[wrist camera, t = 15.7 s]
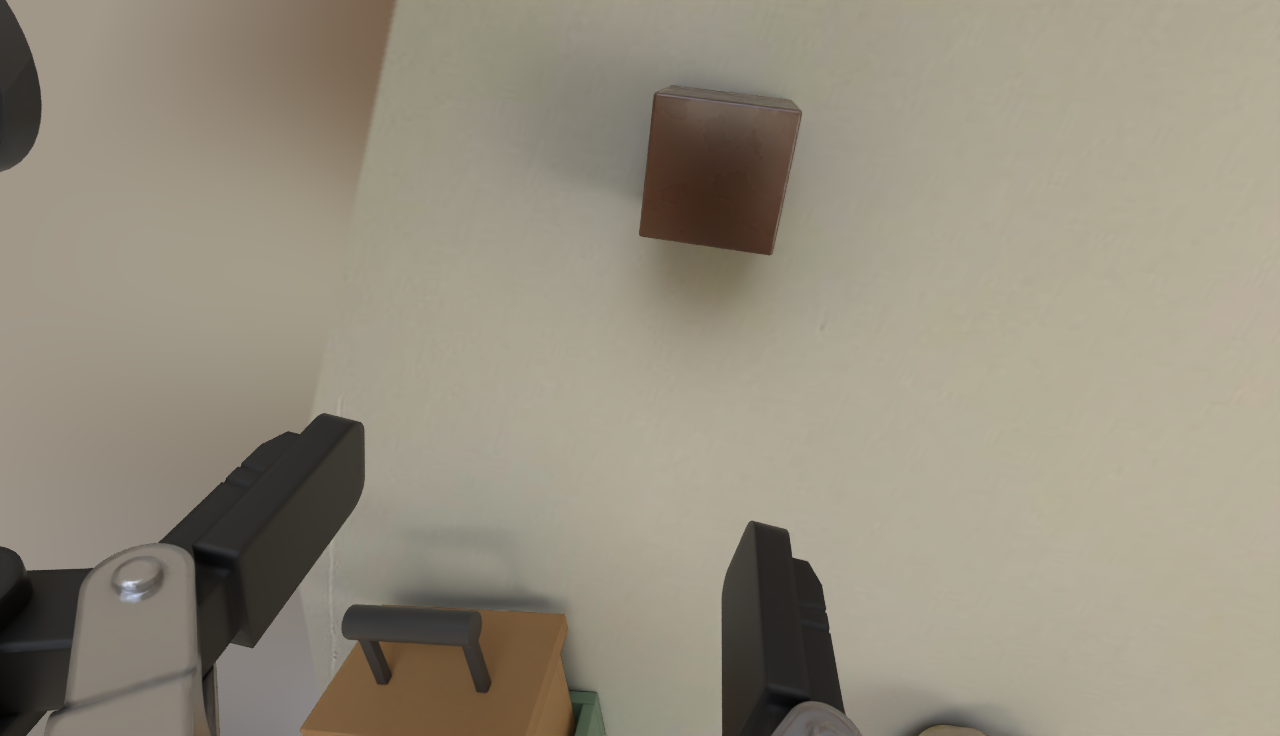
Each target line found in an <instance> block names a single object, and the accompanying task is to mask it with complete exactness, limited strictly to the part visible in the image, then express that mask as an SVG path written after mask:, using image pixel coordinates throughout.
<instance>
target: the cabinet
mask: <svg viewBox="0 0 1280 736" xmlns="http://www.w3.org/2000/svg"><path fill="white" fill-rule="evenodd" d="M569 695H570V700H571V704H572V708H573V713H574V717H575V721H576V726H577V728H576V732H575V736H606V734H605V729H604V724H603V719H602V714H601V709H600V704H599V699H598V694H597V693H592V692H579V691H569Z"/></svg>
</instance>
